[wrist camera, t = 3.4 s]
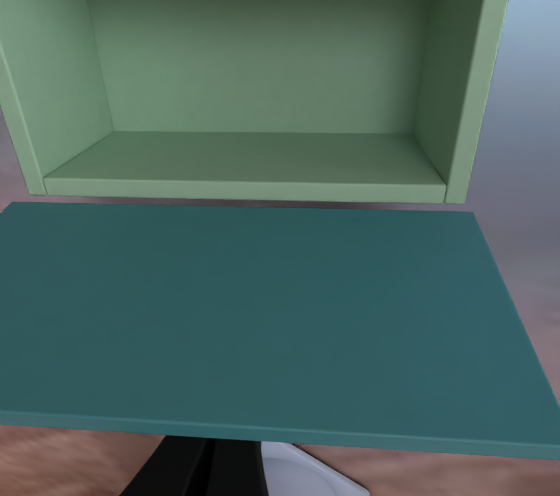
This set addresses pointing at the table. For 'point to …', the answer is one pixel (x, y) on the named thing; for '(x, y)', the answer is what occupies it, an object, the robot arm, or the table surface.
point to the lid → (267, 328)
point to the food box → (248, 97)
